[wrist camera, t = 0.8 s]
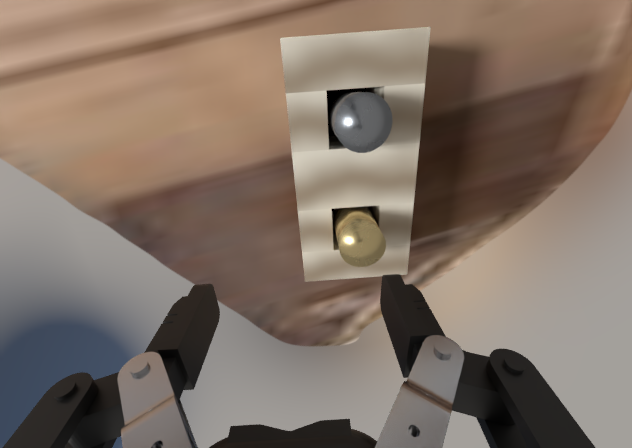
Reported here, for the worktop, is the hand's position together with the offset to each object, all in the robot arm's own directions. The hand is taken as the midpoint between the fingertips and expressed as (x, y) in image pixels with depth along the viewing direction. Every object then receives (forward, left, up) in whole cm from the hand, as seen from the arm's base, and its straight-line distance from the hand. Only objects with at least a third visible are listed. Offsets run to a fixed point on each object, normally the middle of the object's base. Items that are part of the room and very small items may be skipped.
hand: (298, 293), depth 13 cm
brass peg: (+5, +5, -20) cm, 21 cm away
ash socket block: (-1, +5, -24) cm, 24 cm away
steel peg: (-6, +5, -20) cm, 21 cm away
